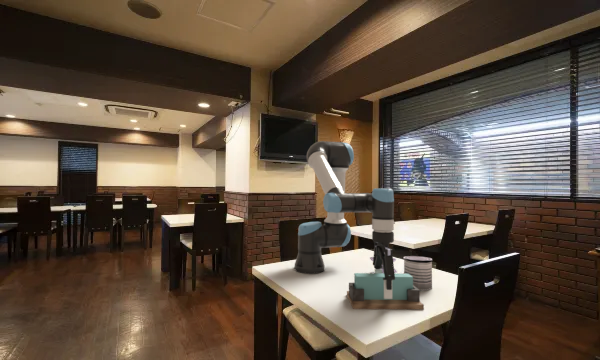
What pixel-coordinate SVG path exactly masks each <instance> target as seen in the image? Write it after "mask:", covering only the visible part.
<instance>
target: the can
mask: <svg viewBox="0 0 600 360" xmlns="http://www.w3.org/2000/svg"><path fill="white" fill-rule="evenodd" d="M432 261H433V258H431V257H426V256H418V255H417V256H416V255H410V256H409V255H407V256H405V255H404V256H403V274H410V275H411V276H412V277H413V285H414V286H415V287H416V288H418V289H419V290H420V291H430V290H432V289H433V262H432Z"/></svg>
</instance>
